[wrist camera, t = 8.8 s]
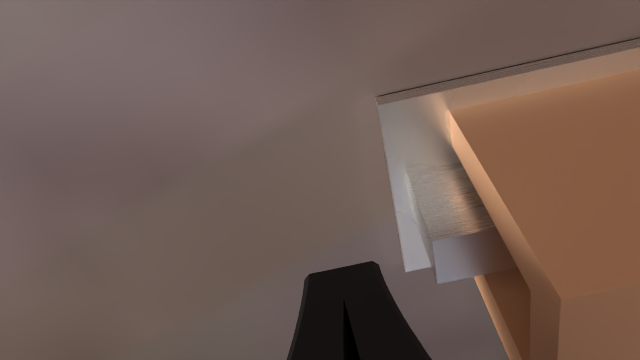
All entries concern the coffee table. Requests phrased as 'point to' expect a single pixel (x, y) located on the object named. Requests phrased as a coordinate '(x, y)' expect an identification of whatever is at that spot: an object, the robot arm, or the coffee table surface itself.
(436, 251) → the rail
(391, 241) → the coffee table surface
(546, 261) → the clip
